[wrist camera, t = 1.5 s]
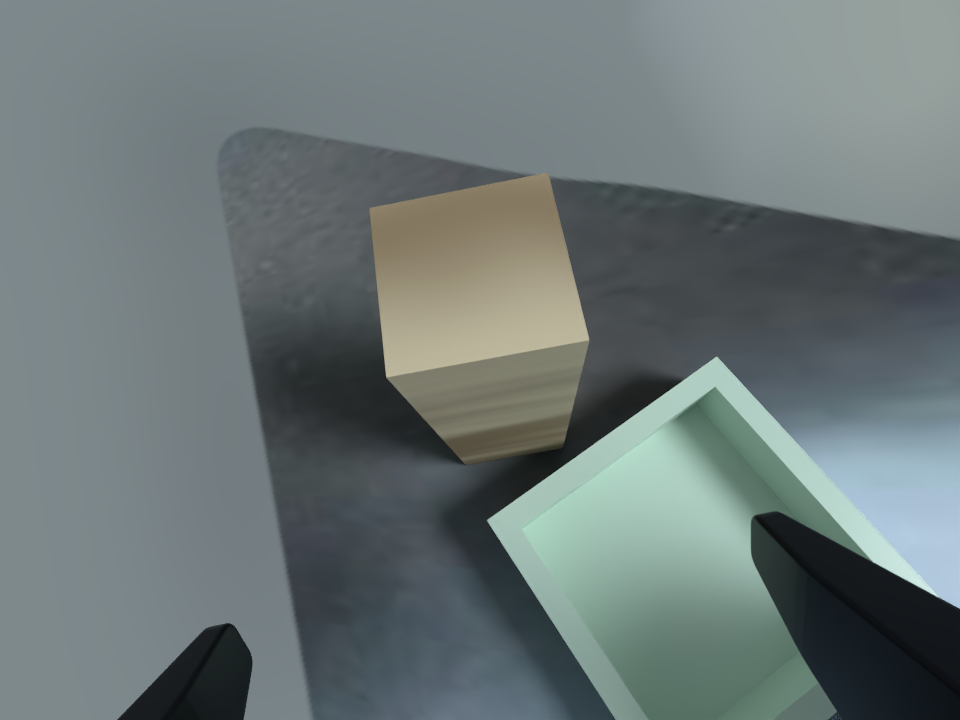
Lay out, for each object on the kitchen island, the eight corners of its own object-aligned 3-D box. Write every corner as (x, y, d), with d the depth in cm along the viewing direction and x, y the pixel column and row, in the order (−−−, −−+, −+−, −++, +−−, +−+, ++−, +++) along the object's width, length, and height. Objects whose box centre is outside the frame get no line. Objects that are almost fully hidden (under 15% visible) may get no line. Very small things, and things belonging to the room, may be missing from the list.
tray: (891, 603, 18) (955, 614, 16) (665, 786, 17) (689, 833, 15) (694, 381, 22) (717, 356, 19) (494, 523, 21) (487, 520, 18)
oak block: (562, 448, 21) (589, 340, 10) (466, 465, 22) (386, 377, 10) (543, 357, 23) (547, 172, 11) (452, 374, 23) (369, 207, 12)
